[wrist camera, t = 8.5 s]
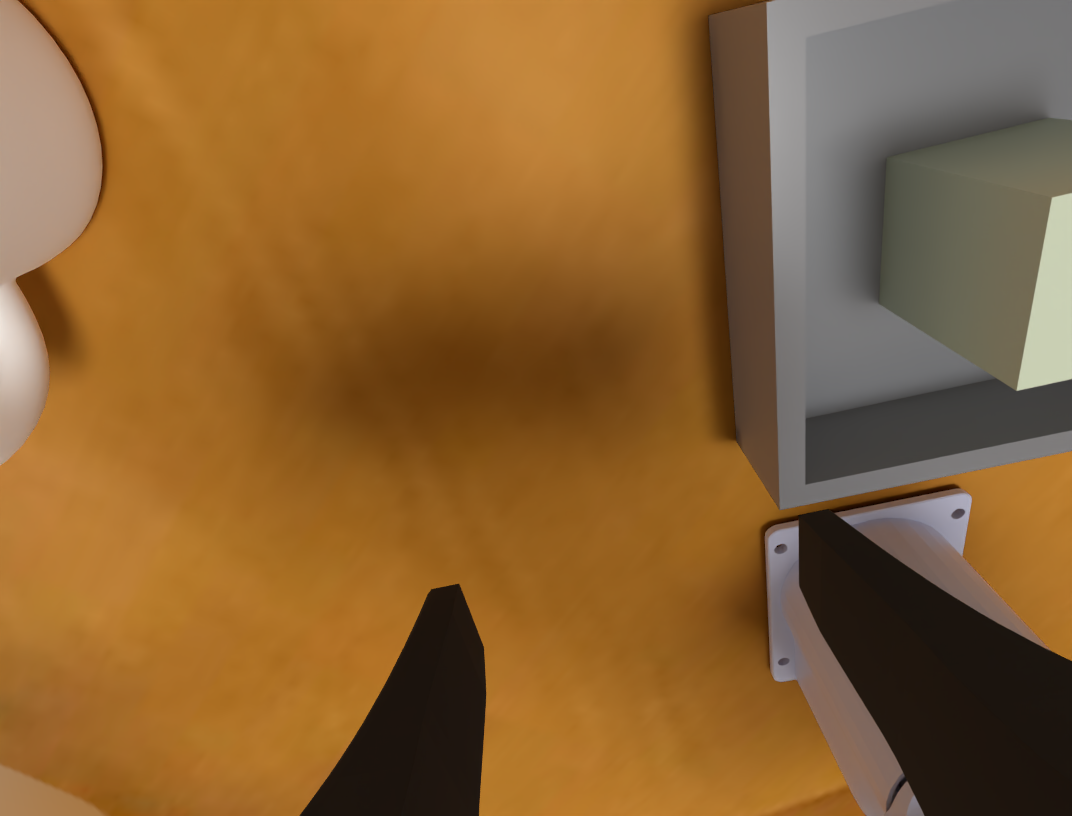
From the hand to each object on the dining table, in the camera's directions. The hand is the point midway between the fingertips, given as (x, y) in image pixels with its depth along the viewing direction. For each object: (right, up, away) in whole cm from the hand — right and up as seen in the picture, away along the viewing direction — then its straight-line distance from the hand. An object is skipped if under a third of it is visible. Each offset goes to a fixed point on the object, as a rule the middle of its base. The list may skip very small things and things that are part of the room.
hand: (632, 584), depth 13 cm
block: (+11, +9, +6) cm, 15 cm away
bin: (+11, +10, +6) cm, 16 cm away
